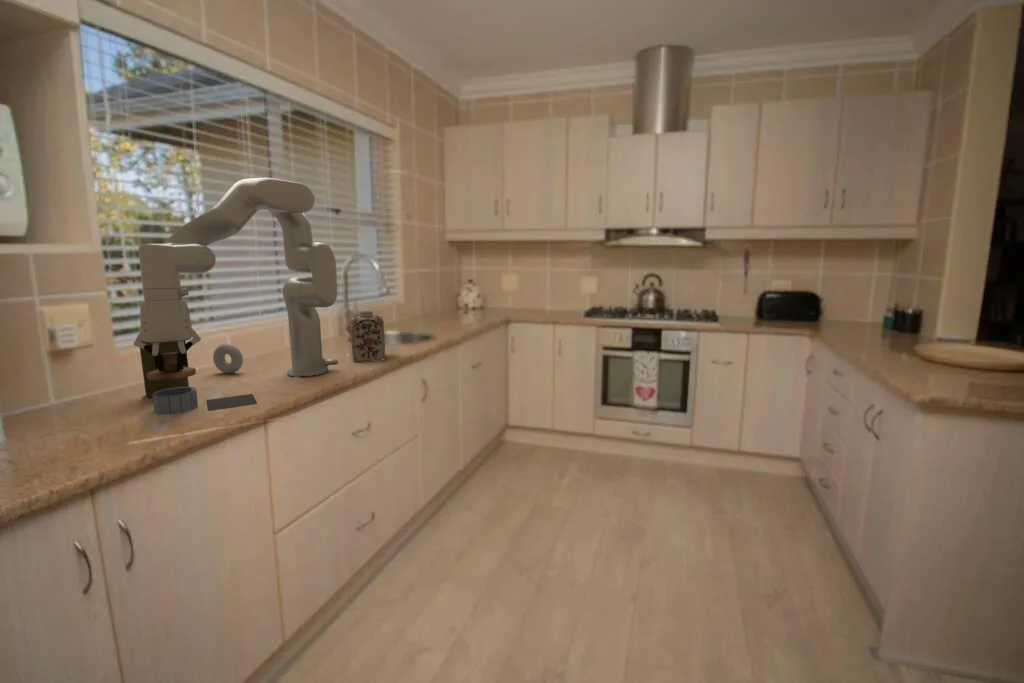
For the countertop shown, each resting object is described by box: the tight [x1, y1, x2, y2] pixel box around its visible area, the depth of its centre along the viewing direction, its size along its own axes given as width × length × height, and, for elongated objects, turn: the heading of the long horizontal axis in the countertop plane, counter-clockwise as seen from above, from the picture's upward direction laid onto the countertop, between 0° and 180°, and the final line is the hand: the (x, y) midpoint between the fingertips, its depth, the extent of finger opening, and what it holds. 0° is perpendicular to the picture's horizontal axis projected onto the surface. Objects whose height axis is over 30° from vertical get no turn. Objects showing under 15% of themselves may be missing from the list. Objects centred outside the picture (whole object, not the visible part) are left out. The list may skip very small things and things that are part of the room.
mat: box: [206, 393, 258, 412], centre depth 130 cm, size 11×11×1 cm
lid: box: [147, 352, 197, 380], centre depth 122 cm, size 10×10×6 cm
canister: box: [136, 335, 190, 399], centre depth 136 cm, size 11×10×20 cm
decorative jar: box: [349, 310, 386, 363], centre depth 186 cm, size 12×12×18 cm
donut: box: [212, 343, 244, 374], centre depth 162 cm, size 10×4×10 cm, turn 81°
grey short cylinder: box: [152, 386, 199, 415], centre depth 124 cm, size 9×9×5 cm
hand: (171, 368), depth 122 cm, fingers closed on lid, 3 cm apart
